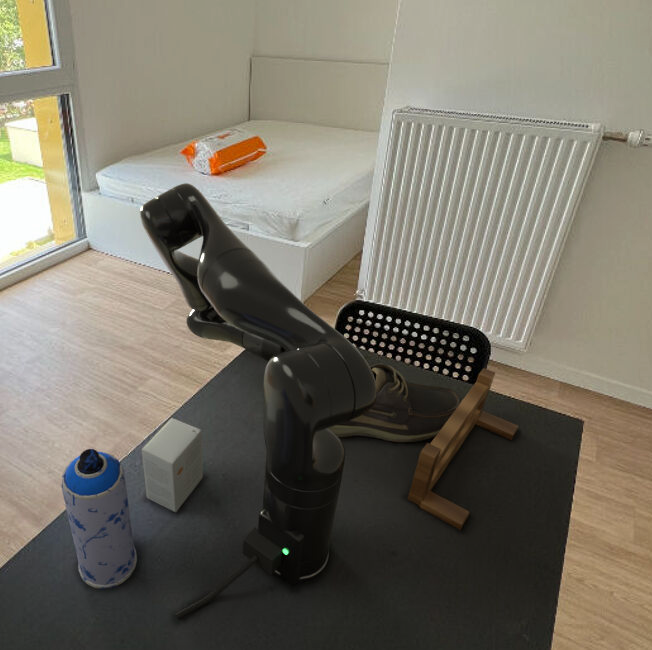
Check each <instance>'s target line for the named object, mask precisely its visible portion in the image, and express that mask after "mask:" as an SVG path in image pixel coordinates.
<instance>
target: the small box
mask: <svg viewBox="0 0 652 650" xmlns="http://www.w3.org/2000/svg"><path fill="white" fill-rule="evenodd" d="M141 459H142V466H143V467H142V468H143V477H144V485H145V486H144V487H145V494H146V495H145V496H146V499H148V500H149V501H152V502H153V503H156V504H158V505H160V506H162V507H164V508H166V509H168V510H170V511H171V512H174V513H177V512H178V510H179V509H180V508H181V506H182V505H183V504H184V503H185V502H186V500H187V499H188V497H189V496H190V495H191V494H192V492H193V491H194V490H195V488H196V487H197V485H199V483H200V481H201V480H202V479H203V477H204V475H203V473H204V472H203V471H204V469H203V465H204V464H203V431H202V429H200V428H198V427H195V426H192V425H190V424H188V423H185V422H183V421H181V420H178V419H176V418H173V417H170V419H168V420H167V422H166V423H165V424H164V425H163V426H162V427H161V428H160V429H159V430H158V432H156V434H154V436H153V437H152V438H150V440H149V441H148V442H147V443H146V444H145V445H144V446H143V447H141Z"/></svg>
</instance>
